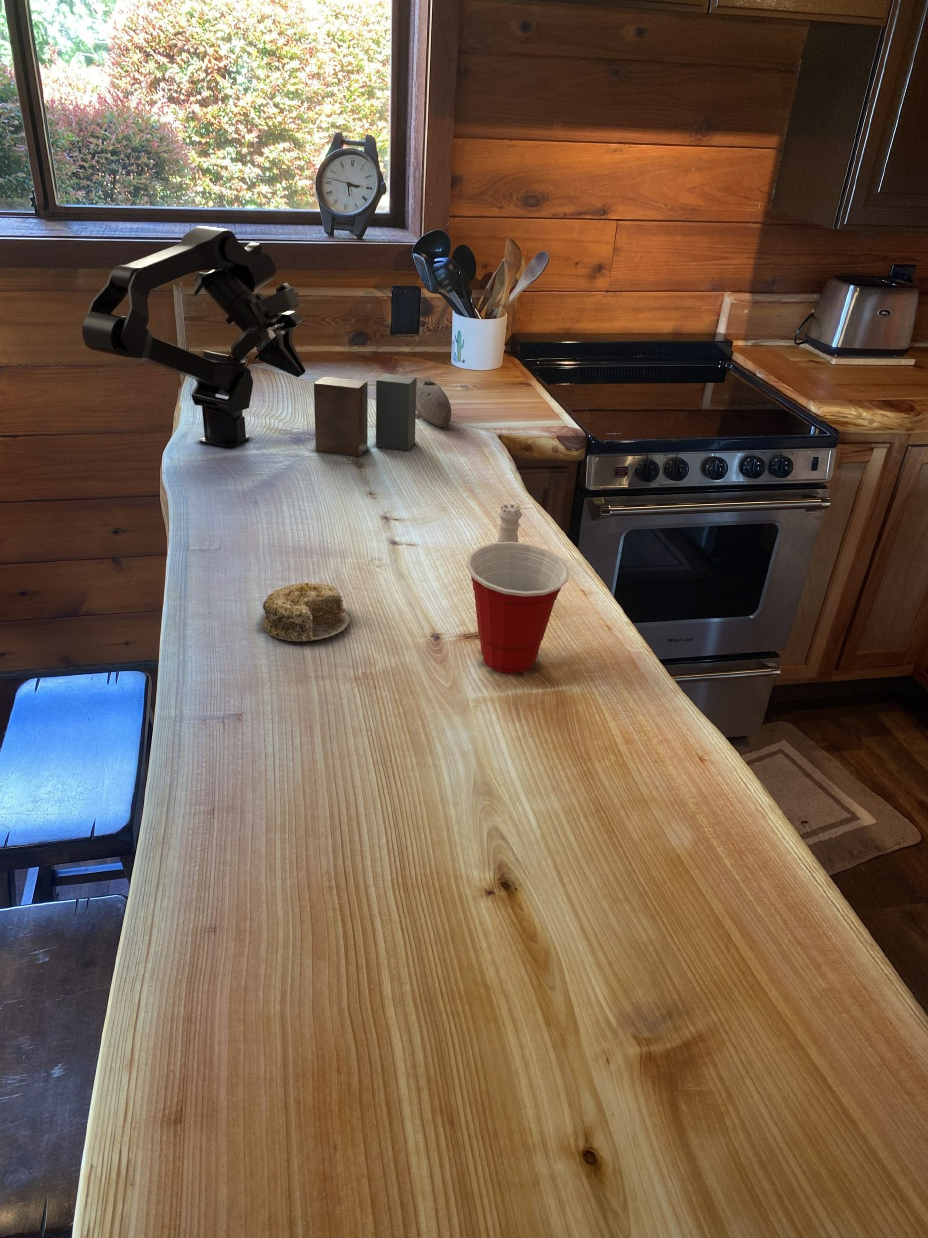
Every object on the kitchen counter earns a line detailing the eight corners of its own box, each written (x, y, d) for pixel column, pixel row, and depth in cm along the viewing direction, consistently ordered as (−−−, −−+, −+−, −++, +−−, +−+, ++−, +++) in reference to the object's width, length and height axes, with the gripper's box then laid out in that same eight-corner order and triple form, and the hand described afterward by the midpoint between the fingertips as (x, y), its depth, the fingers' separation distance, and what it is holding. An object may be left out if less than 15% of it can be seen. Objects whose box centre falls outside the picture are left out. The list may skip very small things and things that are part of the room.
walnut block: (315, 451, 158) (313, 382, 152) (325, 443, 162) (323, 376, 157) (359, 456, 157) (358, 387, 151) (367, 448, 161) (367, 380, 155)
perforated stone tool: (458, 431, 172) (460, 395, 169) (432, 433, 171) (434, 397, 167) (433, 410, 185) (434, 376, 181) (409, 411, 183) (409, 377, 180)
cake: (245, 637, 102) (239, 594, 99) (291, 602, 110) (286, 561, 108) (322, 651, 98) (318, 607, 96) (364, 613, 107) (361, 572, 104)
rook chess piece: (527, 560, 123) (532, 505, 119) (515, 572, 119) (520, 516, 115) (497, 552, 124) (501, 498, 121) (484, 564, 121) (488, 509, 117)
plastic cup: (490, 697, 93) (498, 593, 87) (443, 647, 101) (448, 550, 95) (577, 675, 97) (591, 575, 92) (526, 629, 106) (535, 535, 100)
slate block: (375, 446, 162) (376, 379, 156) (383, 438, 166) (384, 373, 161) (407, 450, 161) (409, 383, 155) (415, 442, 165) (416, 376, 160)
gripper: (244, 275, 139) (313, 355, 143) (289, 261, 156) (350, 333, 159) (201, 323, 145) (269, 399, 148) (249, 305, 161) (309, 373, 164)
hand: (302, 374), depth 155 cm, fingers closed
